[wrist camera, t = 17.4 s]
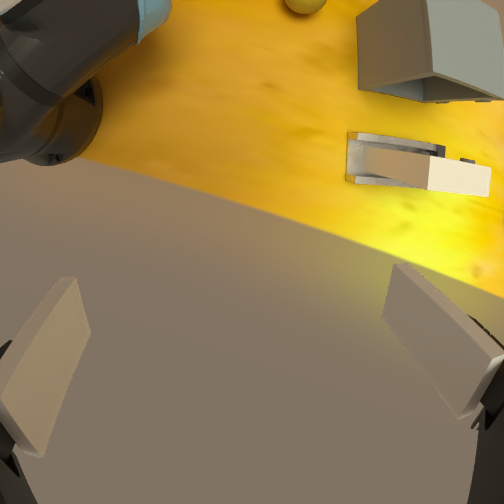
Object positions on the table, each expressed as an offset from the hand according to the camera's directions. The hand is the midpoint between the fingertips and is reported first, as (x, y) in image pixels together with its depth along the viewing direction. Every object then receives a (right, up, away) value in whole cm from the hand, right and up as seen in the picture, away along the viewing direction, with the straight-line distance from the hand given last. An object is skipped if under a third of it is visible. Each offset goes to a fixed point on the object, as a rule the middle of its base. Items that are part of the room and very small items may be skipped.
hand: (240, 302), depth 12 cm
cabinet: (+22, +31, +26) cm, 45 cm away
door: (+21, +15, +31) cm, 40 cm away
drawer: (+21, +16, +31) cm, 41 cm away
